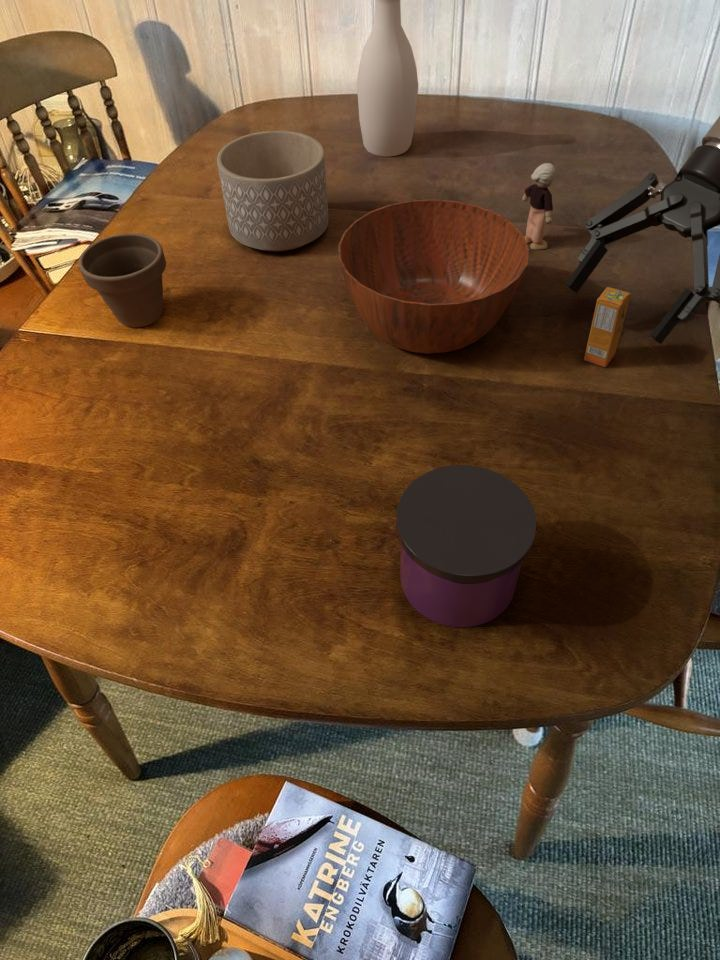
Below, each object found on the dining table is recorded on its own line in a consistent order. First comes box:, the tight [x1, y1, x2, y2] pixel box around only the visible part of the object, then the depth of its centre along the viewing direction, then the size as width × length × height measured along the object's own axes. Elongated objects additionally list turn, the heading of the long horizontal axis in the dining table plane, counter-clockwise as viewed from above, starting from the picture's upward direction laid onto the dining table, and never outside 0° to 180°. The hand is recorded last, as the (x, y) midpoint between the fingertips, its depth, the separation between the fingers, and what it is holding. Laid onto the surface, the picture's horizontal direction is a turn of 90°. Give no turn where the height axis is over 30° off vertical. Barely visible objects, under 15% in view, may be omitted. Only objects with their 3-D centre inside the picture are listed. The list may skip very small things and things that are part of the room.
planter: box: [216, 130, 330, 252], centre depth 115 cm, size 16×16×13 cm
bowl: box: [337, 198, 530, 355], centre depth 99 cm, size 25×25×11 cm
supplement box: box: [583, 286, 631, 368], centre depth 93 cm, size 3×3×10 cm
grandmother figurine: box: [522, 162, 556, 251], centre depth 110 cm, size 8×4×13 cm, turn 34°
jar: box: [395, 464, 538, 628], centre depth 71 cm, size 13×13×10 cm
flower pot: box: [78, 232, 167, 328], centre depth 101 cm, size 12×11×10 cm
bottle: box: [356, 0, 419, 158], centre depth 128 cm, size 11×11×25 cm
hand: (611, 313), depth 91 cm, fingers open, 13 cm apart
